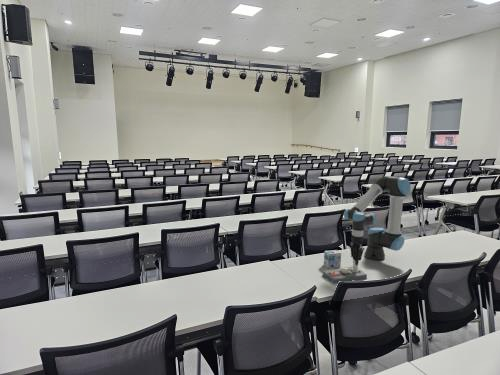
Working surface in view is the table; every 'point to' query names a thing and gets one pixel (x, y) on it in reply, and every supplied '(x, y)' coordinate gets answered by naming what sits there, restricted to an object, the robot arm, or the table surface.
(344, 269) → the button two
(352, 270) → the button one
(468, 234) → the table surface
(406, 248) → the table surface
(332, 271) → the button three
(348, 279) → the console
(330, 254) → the light bulb box
